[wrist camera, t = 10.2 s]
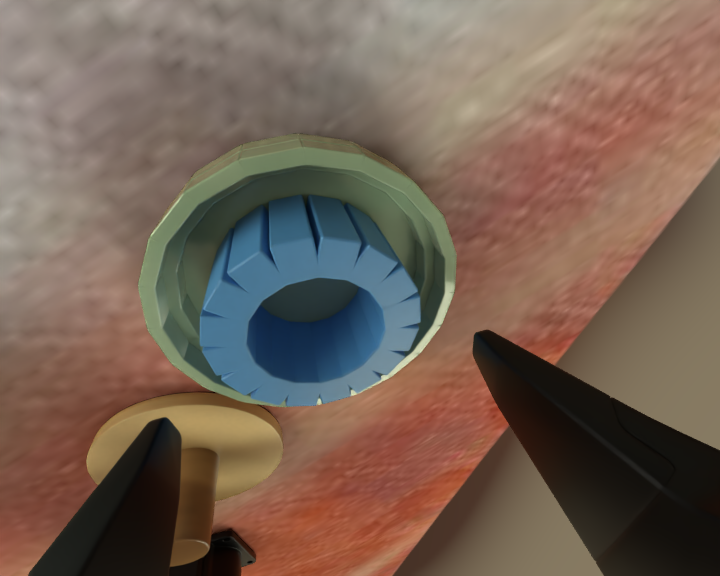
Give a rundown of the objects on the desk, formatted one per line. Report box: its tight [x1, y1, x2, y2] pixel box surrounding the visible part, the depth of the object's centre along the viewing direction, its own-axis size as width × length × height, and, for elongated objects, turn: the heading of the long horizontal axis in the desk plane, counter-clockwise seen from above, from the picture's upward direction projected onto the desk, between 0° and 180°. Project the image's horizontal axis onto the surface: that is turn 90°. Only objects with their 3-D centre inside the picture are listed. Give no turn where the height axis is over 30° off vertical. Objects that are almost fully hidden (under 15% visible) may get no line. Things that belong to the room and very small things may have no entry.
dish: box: [138, 133, 457, 407], centre depth 14 cm, size 11×11×3 cm
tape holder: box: [86, 392, 283, 567], centre depth 18 cm, size 10×10×5 cm
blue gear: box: [200, 195, 421, 406], centre depth 13 cm, size 7×7×4 cm
